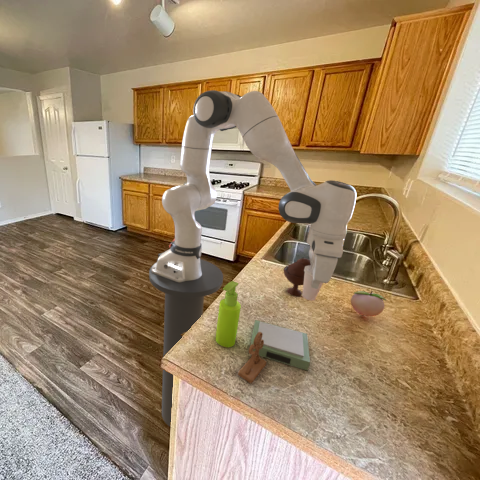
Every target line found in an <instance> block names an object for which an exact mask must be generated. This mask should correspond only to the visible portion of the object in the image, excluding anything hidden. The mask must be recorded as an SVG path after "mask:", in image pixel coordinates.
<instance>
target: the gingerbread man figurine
mask: <svg viewBox="0 0 480 480" xmlns="http://www.w3.org/2000/svg"><path fill="white" fill-rule="evenodd" d="M259 335H260V336H259ZM262 335H263V334H262V333H261V332H258V333H257V335H256V336H255V339H254V345H253V344H251V343H250V345H251V346H249V348H248V354H249V355H250V358H249V359H248V360H247V361H246V362H245V364H244V365H243V366H242V367H241V368H240V369H239V370H238V371H237V376H239V377H240V378H242V379H243V380H244V381H246V382H248V383H249V384H253V383H254V381H255V380H256V379H257V378H258V376H259V375H260V373H261V372H262V371H263V370H264V368H265V367H266V365H267V361H266V360H265V359H263V358H262V357H261V356H259V349H262V347H263V345H264V340H262ZM260 342H261V343H260ZM259 344H260V345H259ZM253 349H255V350H256V351H253Z"/></svg>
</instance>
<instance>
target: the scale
mask: <svg viewBox="0 0 480 480" xmlns="http://www.w3.org/2000/svg"><path fill="white" fill-rule="evenodd" d="M258 332H261V333H262V334H263V335H262V340H264V345H263V347H262V349H259V357H261V358H262V357H263V358H266V359H268V360H272V361H275V362H278V363H281V364H284V365H287V366H291V367H294V368H297V369H301V370H304V371H307V372H308V370H309V368H310V363H311V358H310V346H309V338H308V337H309V336H308V333H306V332H302V331H299V330H295V329H291V328H288V327H284V326H280V325H276V324H272V323H269V322H265V321H263V320H259V319H254V324H253V329H252V335H251V339H250V346H251V344H253V345H254V339H255V336H256V335H257V333H258ZM259 336H260V335H259ZM260 343H261V342H260ZM259 345H260V344H259ZM250 346H249V347H250ZM253 351H256V350H255V349H253Z"/></svg>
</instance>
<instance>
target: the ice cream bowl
mask: <svg viewBox="0 0 480 480" xmlns="http://www.w3.org/2000/svg"><path fill="white" fill-rule="evenodd" d="M308 265H311V264H310V259H309V258H306V257H302V258H298V259H297V260H296V261H294V262H291V263H290V264H289V265H286V266H284V267H283V275H284V277H285V278H286V279H287V281H288V282H289V283H291V284H292V285H293V286H292V287H288V288H287V289H286V292H287V294H289V295H290V296H294V297H301V296H302V293H303V291H301V290H300V289H299V287H300V286H303V284H304V274H305V272H304V268H305V266H308Z"/></svg>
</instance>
